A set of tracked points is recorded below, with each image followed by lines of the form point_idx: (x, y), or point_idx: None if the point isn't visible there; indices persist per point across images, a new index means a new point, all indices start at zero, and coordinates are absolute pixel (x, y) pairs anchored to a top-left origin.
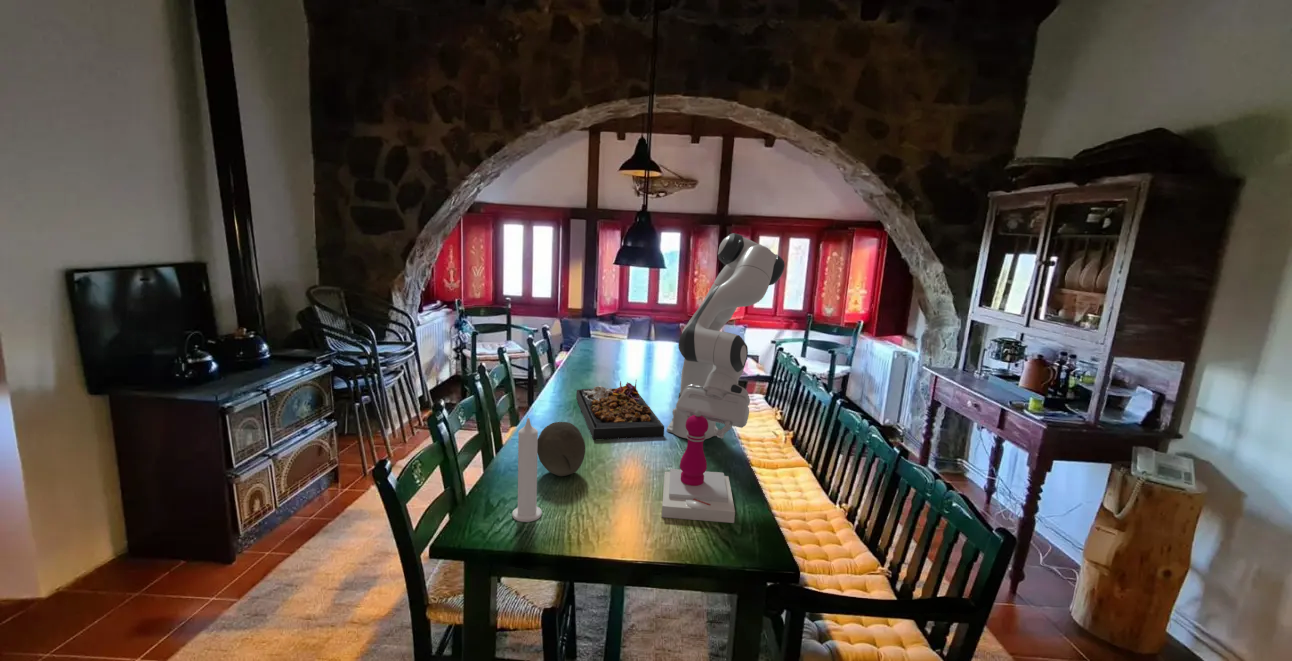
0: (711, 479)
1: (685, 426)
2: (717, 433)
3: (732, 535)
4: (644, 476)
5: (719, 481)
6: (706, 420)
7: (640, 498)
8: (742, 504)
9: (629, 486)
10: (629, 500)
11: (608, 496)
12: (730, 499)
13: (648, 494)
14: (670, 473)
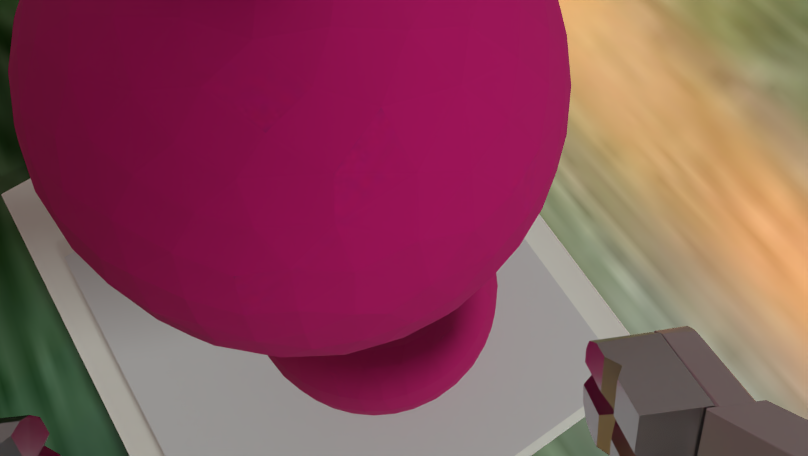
0: (281, 438)
1: (676, 330)
2: (2, 427)
3: (12, 112)
4: (763, 340)
5: (215, 451)
6: (20, 104)
7: (576, 105)
8: (70, 450)
9: (720, 171)
10: (601, 54)
11: (706, 18)
12: (78, 314)
13: (577, 167)
14: (569, 304)
